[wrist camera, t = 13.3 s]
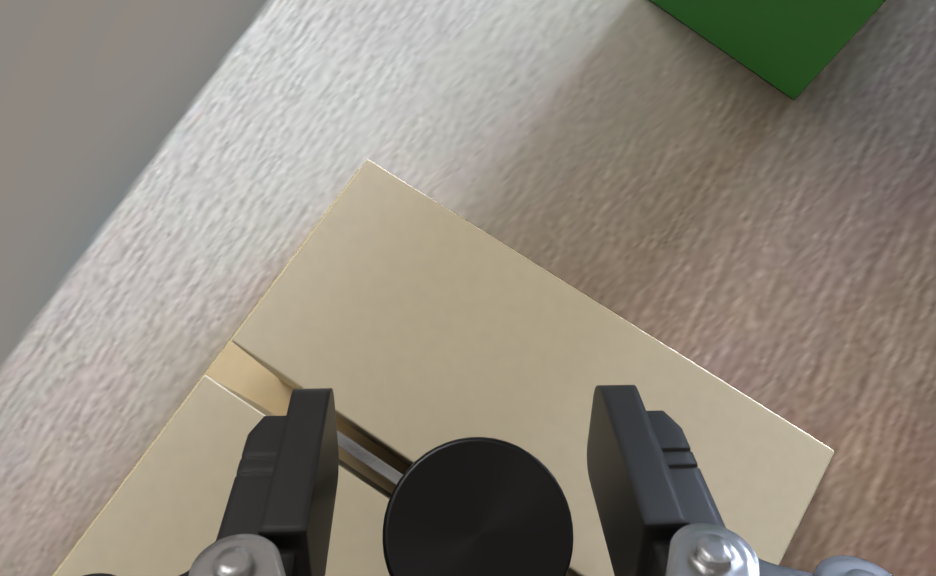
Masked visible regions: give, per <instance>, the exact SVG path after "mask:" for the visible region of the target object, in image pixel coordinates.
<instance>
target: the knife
mask: <svg viewBox="0 0 936 576" xmlns="http://www.w3.org/2000/svg"><path fill="white" fill-rule="evenodd" d="M337 438H338V446H339V447H340V448H342V449H343V450H345V451H346V452H348V453H349V454H350V455H352V456H353V457H355V458H356V459H358V460H359V461H361V462H362V463H364V464H365V465H367V466H368V467H370V468H371V469H373V470H374V471H376V472H377V473H379V474H380V475H382V476H383V477H385V478H386V479H388V480H389V481H390V482H392V483H393V484H395V485H396V487H395V488H394V490H393V492H392V494H391V497H390V499H389V502H388V505H387V508H386V512H385V516H384V523H383V535H382V543H383V552H384V558H385V562H386V566H387V570H388V572H389V575H390V576H566V575H567V572H568V569H569V566H570V562H571V557H572V552H573V539H574V538H573V523H572V518H571V512H570V509H569V506H568V502H567V500H566V497H565V495H564V493H563V491H562V488H561V487H560V485H559V484H558V482H557V480H556V479H555V477H554V476H553V475H552V473H551V472H550V471H549V470H548V468H547V467H546V466H545V465H544V464H543V463H542V462H541V461H540V460H539V459H537V458H536V457H535V456H533V455H532V454H531V453H529V452H528V451H526V450H524V449H522V448H521V447H519V446H517V445H514V444H512V443H510V442H507V441H503V440H500V439H496V438H489V437H467V438H460V439H456V440H452V441H449V442H446V443H444V444H441V445H439V446H437V447H435V448H433V449H431V450H430V451H428V452H426V453H425V454H424V455H422V456H421V457H420V458H419V459H417V460H416V461H415V462H414V463H413V464H412V465H411V466H410V467H409V468H408V469H407V470H406V472H405V473H404V474H402V473H400V472H399V471H397V470H396V469H394V468H393V467H392V466H390V465H389V464H387V463H386V462H384V461H383V460H381V459H380V458H378V457H377V456H375V455H374V454H372V453H371V452H369V451H368V450H366V449H365V448H363V447H362V446H360V445H359V444H357V443H356V442H354V441H353V440H351V439H350V438H348V437H347V436H345V435H344V434H342V433H341V432H339V431H338V430H337Z"/></svg>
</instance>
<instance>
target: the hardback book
mask: <svg viewBox="0 0 936 576" xmlns="http://www.w3.org/2000/svg"><path fill="white" fill-rule="evenodd" d="M651 1H652V2H654V3H655V4H656V5H658V6H659V7H661V8H662V9H664V10H665V11H667V12H668V13H669V14H671V15H672V16H674V17H675V18H677V19H678V20H680V21H681V22H682V23H684V24H685V25H687V26H688V27H690V28H691V29H692V30H694V31H695V32H697V33H698V34H700V35H701V36H703V37H704V38H705V39H707V40H708V41H710V42H711V43H713V44H714V45H716V46H717V47H718V48H720V49H721V50H723V51H724V52H726V53H727V54H729V55H730V56H731V57H733V58H734V59H736V60H737V61H739V62H740V63H741V64H743V65H744V66H746V67H747V68H749V69H750V70H752V71H753V72H754V73H756V74H757V75H759V76H760V77H762V78H763V79H765V80H766V81H767V82H769V83H770V84H772V85H773V86H775V87H776V88H778V89H779V90H780V91H782V92H783V93H785V94H786V95H788V96H789V97H791V98H792V99H793V100H795V99H796V98H797V97H798V95H799V94H800V93H801V92H802V91H803V90H804V89H805V88H806V87H807V86H808V85H809V83H810V82H811V81H812V80H813V79H814V78H815V77H816V76H817V75H818V74H819V73H820V71H821V70H822V69H823V68H824V67H825V66H826V65H827V64H828V63H829V62H830V61H831V59H832V58H833V57H834V56H835V55H836V54H837V53H838V52H839V51H840V50H841V49H842V47H843V46H844V45H845V44H846V43H847V42H848V41H849V40H850V39H851V38H852V37H853V35H854V34H855V33H856V32H857V31H858V30H859V29H860V28H861V27H862V26H863V25H864V23H865V22H866V21H867V20H868V19H869V18H870V17H871V16H872V15H873V14H874V13H875V11H876V10H877V9H878V8H879V7H880V6H881V5H882V4H883V3H884V2H885V1H886V0H651Z"/></svg>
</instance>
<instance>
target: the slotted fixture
mask: <svg viewBox="0 0 936 576" xmlns="http://www.w3.org/2000/svg"><path fill="white" fill-rule="evenodd" d="M597 385H635V386H636V387H637V389H638V391H639V394H640V396H641V399H642V401H643V404H644V407H645V409H646V411H662V410H663V411H664V412H665V413H666V414H667V415H668V416H670V417H671V418H672V419H673V420H674V421H675V422H676V423H677V424H678V425H679V426H680V427H681V428H682V430H683V432H684V434H685V437H686V439H687V441H688V443H689V446H690V450H691V452H693V455H694V457H695V459H696V461H697V464H698V468H700V470H701V473H702V475H703V477H704V479H705V482H706V484H707V486H708V488H709V491H710V493H711V495H712V497H713V500H714V502H715V504H716V506H717V509H718V511H719V513H720V515H721V518H722V520H723V522H724V524H725V527H726V528H727V529H729V530H731V531H733V532H734V533H736V534H738V535H739V536H740V537H742V538H743V539H744V540H745V541H746V542H747V543H748V544H749V545H750V546H751V547H752V549H753V550H754V552H755V554H756V556H757V557H758V558H760V559H762V560H764V561H767V562H769V563H772V564H776V565H779V564H780V562H781V560H782V558H783V556H784V554H785V552H786V550H787V548H788V546H789V544H790V542H791V540H792V538H793V536H794V534H795V532H796V530H797V528H798V526H799V524H800V522H801V520H802V518H803V515H804V513H805V511H806V509H807V507H808V505H809V503H810V501H811V499H812V497H813V495H814V493H815V491H816V489H817V487H818V485H819V483H820V481H821V479H822V477H823V475H824V473H825V471H826V469H827V467H828V465H829V463H830V461H831V459H832V457H833V455H834V452H835V451H834V450H833V449H831V448H830V447H828V446H826V445H825V444H823V443H822V442H820V441H818V440H817V439H815V438H814V437H812V436H810V435H809V434H807V433H806V432H804V431H802V430H801V429H799V428H798V427H796V426H794V425H793V424H791V423H790V422H788V421H786V420H785V419H783V418H782V417H780V416H778V415H777V414H775V413H774V412H772V411H770V410H769V409H767V408H766V407H764V406H762V405H761V404H759V403H758V402H756V401H754V400H753V399H751V398H750V397H748V396H746V395H745V394H743V393H742V392H740V391H738V390H737V389H735V388H734V387H732V386H730V385H729V384H727V383H726V382H724V381H722V380H721V379H719V378H718V377H716V376H714V375H713V374H711V373H710V372H708V371H706V370H705V369H703V368H702V367H700V366H698V365H697V364H695V363H694V362H692V361H690V360H689V359H687V358H686V357H684V356H682V355H681V354H679V353H678V352H676V351H674V350H673V349H671V348H670V347H668V346H666V345H665V344H663V343H662V342H660V341H658V340H657V339H655V338H654V337H652V336H650V335H649V334H647V333H646V332H644V331H642V330H641V329H639V328H638V327H636V326H634V325H633V324H631V323H630V322H628V321H626V320H625V319H623V318H622V317H620V316H619V315H617V314H615V313H614V312H612V311H611V310H609V309H607V308H606V307H604V306H603V305H601V304H599V303H598V302H596V301H595V300H593V299H591V298H590V297H588V296H587V295H585V294H583V293H582V292H580V291H579V290H577V289H575V288H574V287H572V286H571V285H569V284H567V283H566V282H564V281H563V280H561V279H559V278H558V277H556V276H555V275H553V274H551V273H550V272H548V271H547V270H545V269H543V268H542V267H540V266H539V265H537V264H535V263H534V262H532V261H531V260H529V259H527V258H526V257H524V256H523V255H521V254H519V253H518V252H516V251H515V250H513V249H511V248H510V247H508V246H507V245H505V244H503V243H502V242H500V241H499V240H497V239H495V238H494V237H492V236H491V235H489V234H487V233H486V232H484V231H483V230H481V229H479V228H478V227H476V226H475V225H473V224H471V223H470V222H468V221H467V220H465V219H463V218H462V217H460V216H459V215H457V214H455V213H454V212H452V211H451V210H449V209H447V208H446V207H444V206H443V205H441V204H439V203H438V202H436V201H435V200H433V199H431V198H430V197H428V196H427V195H425V194H423V193H422V192H420V191H419V190H417V189H415V188H414V187H412V186H411V185H409V184H407V183H406V182H404V181H403V180H401V179H399V178H398V177H396V176H395V175H393V174H391V173H390V172H388V171H387V170H385V169H383V168H382V167H380V166H379V165H377V164H376V163H374V162H372V161H371V160H369V159H368V160H366V161H365V163H364V164H363V165H362V167H361V168H360V169H358V171H357V172H356V173H355V175H354V176H353V177H352V179H351V180H350V181H349V182H348V184H347V185H346V186H345V188H344V189H343V190H342V192H341V193H340V194H339V196H338V197H337V198H336V200H335V201H334V202H333V204H332V205H331V206H330V208H329V209H328V210H327V212H326V213H325V214H324V216H323V217H322V218H321V220H320V221H319V222H318V224H317V225H316V226H315V228H314V229H313V230H312V232H311V233H310V234H309V236H308V237H307V238H306V240H305V241H304V242H303V244H302V245H301V246H300V248H299V249H298V250H297V252H296V253H295V254H294V255H293V257H292V258H291V259H290V261H289V262H288V263H287V265H286V266H285V267H284V269H283V270H282V271H281V273H280V274H279V275H278V277H277V278H276V279H275V281H274V282H273V283H272V285H271V286H270V287H269V289H268V290H267V291H266V293H265V294H264V295H263V297H262V298H261V299H260V301H259V302H258V303H257V305H256V306H255V307H254V309H253V310H252V311H251V313H250V314H249V315H248V317H247V318H246V319H245V321H244V322H243V323H242V325H241V326H240V327H239V328H238V330H237V331H236V332H235V334H234V335H233V336H232V338H231V339H230V340H229V342H228V343H227V344H226V346H225V347H224V348H223V350H222V351H221V352H220V354H219V355H218V356H217V358H216V359H215V360H214V362H213V363H212V364H211V366H210V367H209V368H208V370H207V371H206V372H205V374H204V375H203V376H202V378H201V379H200V380H199V382H198V383H197V384H196V386H195V387H194V388H193V390H192V391H191V392H190V394H189V395H188V396H187V398H186V399H185V400H184V401H183V403H182V404H181V405H180V407H179V408H178V409H177V411H176V412H175V413H174V415H173V416H172V417H171V419H170V420H169V421H168V423H167V424H166V425H165V427H164V428H163V429H162V431H161V432H160V433H159V435H158V436H157V437H156V439H155V440H154V441H153V443H152V444H151V445H150V447H149V448H148V449H147V451H146V452H145V453H144V455H143V456H142V457H141V459H140V460H139V461H138V463H137V464H136V465H135V467H134V468H133V469H132V471H131V472H130V473H129V474H128V476H127V477H126V478H125V480H124V481H123V482H122V484H121V485H120V486H119V488H118V489H117V490H116V492H115V493H114V494H113V496H112V497H111V498H110V500H109V501H108V502H107V504H106V505H105V506H104V508H103V509H102V510H101V512H100V513H99V514H98V516H97V517H96V518H95V520H94V521H93V522H92V524H91V525H90V526H89V528H88V529H87V530H86V532H85V533H84V534H83V536H82V537H81V538H80V540H79V541H78V542H77V544H76V545H75V546H74V547H73V549H72V550H71V551H70V553H69V554H68V555H67V557H66V558H65V559H64V561H63V562H62V563H61V565H60V566H59V567H58V569H57V570H56V571H55V573H54V574H53V575H52V576H83V575H88V574H93V573H106V574H112V575H116V576H179V575H181V574H183V573H185V572H187V571H188V570H190V568H191V566H192V563H193V562H194V560H195V559H196V557H197V556H198V555H199V554H200V553H201V552H202V551H203V550H204V549H205V548H206V547H208V546H209V545H211V544H212V543H214V542H215V541H216V539H217V536H218V532H219V529H220V526H221V522H222V519H223V516H224V512H225V509H226V506H227V502H228V499H229V496H230V492H231V489H232V486H233V482H234V479H235V477H236V476H237V469H238V466H239V462H240V459H242V452H243V449H244V446H245V442H246V439H247V436H248V434H249V433H250V432H251V430H252V429H253V428H254V427H255V426H256V425H257V424H258V423H259V422H260V421H261V419H262V418H263V417H264V416H286V415H287V410H288V406H289V402H290V398H291V394H292V391H293V389H312V388H332V389H333V393H334V402H335V414H336V426H337V430H338V431H339V432H341V433H342V434H344V435H345V436H347V437H348V438H350V439H351V440H353V441H354V442H356V443H357V444H359V445H360V446H362V447H363V448H365V449H366V450H368V451H369V452H371V453H372V454H374V455H375V456H377V457H378V458H380V459H381V460H383V461H384V462H386V463H387V464H389V465H390V466H392V467H393V468H394V469H396V470H397V471H399V472H400V473H402V474H404V473H405V472H406V470H407V469H408V468H409V467H410V466H411V465H412V464H413V463H414V462H415V461H416V460H417V459H419V458H420V457H421V456H422V455H424V454H425V453H426V452H428V451H430V450H431V449H433V448H435V447H437V446H439V445H441V444H444V443H446V442H449V441H452V440H456V439H460V438H467V437H489V438H496V439H500V440H503V441H507V442H510V443H512V444H514V445H517V446H519V447H521V448H522V449H524V450H526V451H528V452H529V453H531V454H532V455H533V456H535V457H536V458H537V459H539V460H540V461H541V462H542V463H543V464H544V465H545V466H546V467H547V468H548V470H549V471H550V472H551V473H552V475H553V476H554V477H555V479H556V480H557V482H558V484H559V485H560V487H561V488H562V491H563V493H564V495H565V497H566V500H567V502H568V506H569V509H570V512H571V518H572V523H573V538H574V539H573V552H572V557H571V562H570V566H569V569H568V572H567V575H566V576H615V575H614V572H613V568H612V564H611V560H610V556H609V553H608V549H607V545H606V541H605V537H604V534H603V530H602V526H601V522H600V518H599V514H598V511H597V507H596V503H595V499H594V495H593V492H592V488H591V484H590V480H589V475H588V469H587V442H588V434H589V427H590V419H591V411H592V403H593V395H594V390H595V387H596V386H597ZM338 451H339V471H338V484H337V491H336V499H335V506H334V513H333V521H332V528H331V535H330V543H329V550H328V557H327V565H326V572H325V576H390V575H389V572H388V570H387V566H386V562H385V558H384V552H383V543H382V535H383V523H384V516H385V512H386V508H387V505H388V502H389V499H390V497H391V494H392V492H393V490H394V488H395V487H396V485H395V484H393V483H392V482H390V481H389V480H388V479H386V478H385V477H383V476H382V475H380V474H379V473H377V472H376V471H374V470H373V469H371V468H370V467H368V466H367V465H365V464H364V463H362V462H361V461H359V460H358V459H356V458H355V457H353V456H352V455H350V454H349V453H348V452H346V451H345V450H343V449H342V448H340V447H339V446H338Z"/></svg>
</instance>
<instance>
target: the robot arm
mask: <svg viewBox="0 0 936 576" xmlns="http://www.w3.org/2000/svg"><path fill="white" fill-rule="evenodd" d="M587 469H588V475H589V480H590V484H591V488H592V492H593V495H594V499H595V503H596V507H597V511H598V514H599V518H600V522H601V526H602V530H603V534H604V537H605V541H606V545H607V549H608V553H609V556H610V560H611V564H612V568H613V572H614V575H615V576H892V575H891V574H890V573H889V572H887V571H886V570H884V569H883V568H881V567H879V566H878V565H876V564H874V563H872V562H869V561H867V560H864V559H861V558H857V557H852V556H834V557H830V558H827V559H825V560H824V561H822V562H821V563H820V564H819V565H818V566H817V568H816V570H815V572H814V574H813V573H808V572H804V571H800V570H796V569H792V568H788V567H783V566H779V565H776V564H772V563H769V562H767V561H764V560H762V559H760V558H758V557H757V556H756V554H755V552H754V550H753V549H752V547H751V546H750V545H749V544H748V543H747V542H746V541H745V540H744V539H743V538H742V537H740V536H739V535H738V534H736V533H734V532H733V531H731V530H729V529H727V528H726V527H725V524H724V522H723V520H722V518H721V515H720V513H719V511H718V509H717V506H716V504H715V502H714V500H713V497H712V495H711V493H710V491H709V488H708V486H707V484H706V482H705V479H704V477H703V475H702V473H701V470H700V468H698V464H697V461H696V459H695V457H694V455H693V452H691V450H690V446H689V443H688V441H687V439H686V437H685V434H684V432H683V430H682V428H681V427H680V426H679V425H678V424H677V423H676V422H675V421H674V420H673V419H672V418H671V417H670V416H668V415H667V414H666V413H665V412H664V411H663V410H662V411H646V409H645V407H644V404H643V401H642V399H641V396H640V394H639V391H638V389H637V387H636V386H635V385H597V386H596V387H595V390H594V395H593V403H592V411H591V419H590V427H589V434H588V442H587ZM338 471H339V451H338V438H337V426H336V414H335V402H334V393H333V389H332V388H312V389H293V391H292V394H291V398H290V402H289V406H288V410H287V415H286V416H264V417H263V418H262V419H261V421H260V422H259V423H258V424H257V425H256V426H255V427H254V428H253V429H252V430H251V432H250V433H249V434H248V436H247V439H246V442H245V446H244V449H243V452H242V459H240V462H239V466H238V469H237V476H236V477H235V479H234V482H233V486H232V489H231V492H230V496H229V499H228V502H227V506H226V509H225V512H224V516H223V519H222V522H221V526H220V529H219V532H218V536H217V539H216V541H215V542H214V543H212V544H211V545H209V546H208V547H206V548H205V549H204V550H203V551H202V552H201V553H200V554H199V555H198V556H197V557H196V559H195V560H194V562H193V563H192V566H191V568H190V570H188V571H187V572H185V573H183V574H181V575H179V576H325V572H326V565H327V557H328V550H329V543H330V535H331V528H332V521H333V513H334V506H335V499H336V491H337V484H338ZM83 576H116V575H112V574H106V573H93V574H88V575H83Z"/></svg>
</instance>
